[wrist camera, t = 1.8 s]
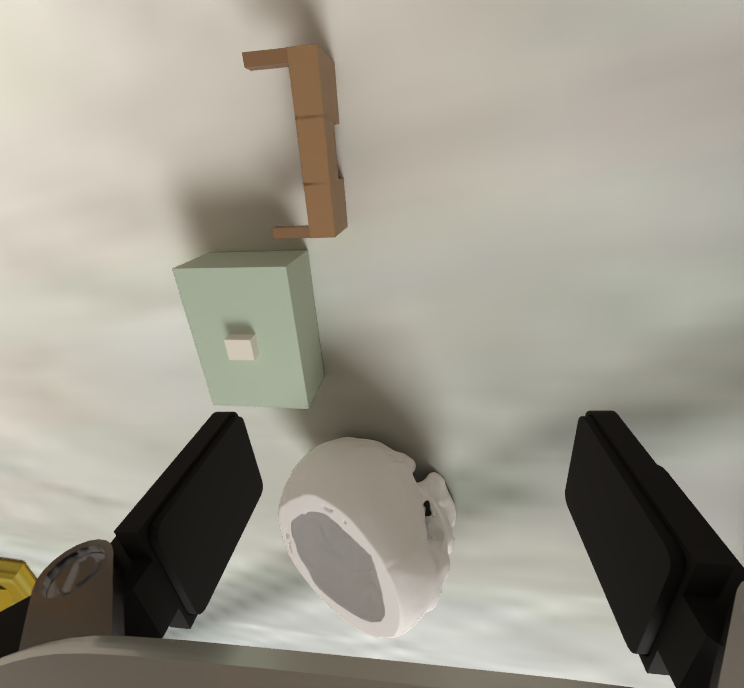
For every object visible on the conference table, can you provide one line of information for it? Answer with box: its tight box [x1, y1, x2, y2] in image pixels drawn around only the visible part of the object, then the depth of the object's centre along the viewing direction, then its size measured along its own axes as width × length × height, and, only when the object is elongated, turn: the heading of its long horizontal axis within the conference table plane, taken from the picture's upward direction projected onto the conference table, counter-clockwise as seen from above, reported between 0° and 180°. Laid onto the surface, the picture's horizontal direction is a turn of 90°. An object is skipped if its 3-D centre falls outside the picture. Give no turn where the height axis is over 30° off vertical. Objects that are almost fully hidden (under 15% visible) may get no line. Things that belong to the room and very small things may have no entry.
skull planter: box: [278, 437, 456, 638], centre depth 41 cm, size 14×20×19 cm
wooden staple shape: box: [242, 44, 347, 239], centre depth 28 cm, size 12×5×5 cm, turn 3°
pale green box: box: [172, 250, 324, 409], centre depth 35 cm, size 14×10×7 cm
